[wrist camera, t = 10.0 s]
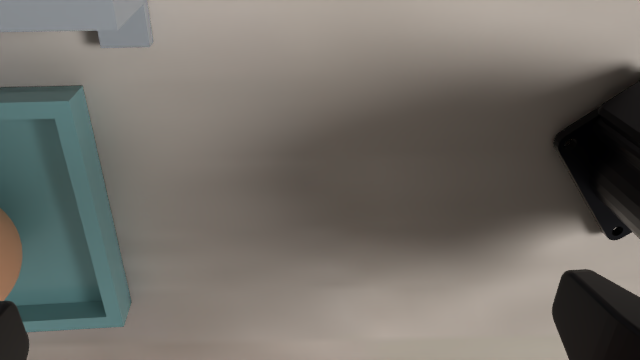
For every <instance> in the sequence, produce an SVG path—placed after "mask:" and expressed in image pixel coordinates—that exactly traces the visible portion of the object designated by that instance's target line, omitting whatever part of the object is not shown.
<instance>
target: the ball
mask: <svg viewBox="0 0 640 360" xmlns="http://www.w3.org/2000/svg"><path fill="white" fill-rule="evenodd" d="M21 265H22V244H21V240H20V236H19V233H18V231H17V228H16V227H15V225H14V223H13V222H12V220H11V219H10V218H9V216H8V215H7V214H6V213H5V212H4V211H3V210H2V209H1V208H0V301H4V300H5V299H6V297H7V296H8V295H9V293H10V292H11V290H12V289H13V287H14V285H15V283H16V281H17V279H18V277H19V273H20V270H21Z"/></svg>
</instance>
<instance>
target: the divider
mask: <svg viewBox="0 0 640 360" xmlns="http://www.w3.org/2000/svg"><path fill="white" fill-rule="evenodd" d="M35 31H98V36H99V41H100V46H101V48H124V47H150V46H151V45H152V44H153V36H152V30H151V23H150V16H149V10H148V3H147V0H0V32H35Z"/></svg>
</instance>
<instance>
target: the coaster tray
mask: <svg viewBox="0 0 640 360" xmlns="http://www.w3.org/2000/svg"><path fill="white" fill-rule="evenodd" d="M0 208H1V209H2V210H3V211H4V212H5V213H6V214H7V215H8V216H9V218H10V219H11V220H12V222H13V223H14V225H15V227H16V228H17V231H18V233H19V236H20V240H21V244H22V265H21V270H20V273H19V277H18V279H17V281H16V283H15V285H14V287H13V289H12V290H11V292H10V293H9V295H8V296H7V297H6V299H5V300H4V301H12V302H14V304H15V305H16V306H17V308H18V311H19V313H20V316H21V319H22V322H23V324H24V327H25V330H26V332H39V331H56V330H73V329H90V328H107V327H124V324H125V321H126V318H127V315H128V312H129V308H130V305H131V297H130V293H129V289H128V284H127V280H126V275H125V271H124V267H123V262H122V258H121V253H120V249H119V244H118V240H117V236H116V231H115V227H114V222H113V218H112V214H111V209H110V205H109V200H108V196H107V192H106V187H105V183H104V178H103V174H102V169H101V165H100V161H99V156H98V152H97V147H96V143H95V139H94V134H93V130H92V125H91V121H90V116H89V112H88V108H87V103H86V99H85V94H84V90H83V86H45V87H1V88H0Z"/></svg>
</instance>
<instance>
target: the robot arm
mask: <svg viewBox="0 0 640 360" xmlns="http://www.w3.org/2000/svg"><path fill="white" fill-rule="evenodd" d="M569 139H572V140H571V142H570V143H569V144H568V145H566V146H564V144H565V142H566V141H567V140H569ZM553 144H554V148H555V149H556V151H557V153H558V155H559V157H560V158H561V160H562V162H563V164H564V165H565V167H566V169H567V171H568V172H569V174H570V176H571V178H572V179H573V181H574V183H575V185H576V187H577V188H578V190H579V192H580V194H581V195H582V197H583V199H584V201H585V202H586V204H587V206H588V208H589V209H590V211H591V213H592V215H593V217H594V218H595V220H596V222H597V224H598V225H599V227H600V229H601V231H602V232H603V233H604V234H605V235H606V236H607V237H608V238H609V239H610V240H618V239H620V238H623V237H624V236H626V235H628V234H630V233H631V232H633V233H634V234H635V235H636V236H637V237H638V238H639V239H640V81H639V82H637V83H636V84H634V85H633V86H631V87H630V88H628V89H626V90H625V91H623V92H622V93H620V94H619V95H617V96H615V97H614V98H612V99H611V100H609V101H607V102H606V103H604V104H603V105H602V106H600V107H599V108H597V109H596V110H594V111H592V112H591V113H589V114H588V115H586V116H585V117H583V118H581V119H580V120H578V121H577V122H575V123H573V124H572V125H570V126H569V127H567V128H566V129H564V130H562V131H561V132H560V133H558V134H557V135H556V137H555V139H554V142H553ZM616 227H617V228H616ZM614 228H616V229H615V230H613V229H614ZM552 315H553V319H554V322H555V325H556V327H557V330H558V333H559V335H560V338H561V340H562V343H563V345H564V348H565V350H566V353H567V355H568V358H569V360H640V297H638V296H637V295H635V294H633V293H631V292H629V291H628V290H626V289H624V288H622V287H620V286H619V285H617V284H615V283H613V282H612V281H610V280H608V279H606V278H604V277H603V276H601V275H599V274H597V273H595V272H594V271H591V270H587V269H583V270H568V271H566V272H564V274H563V275H562V277H561V280H560V283H559V286H558V289H557V293H556V296H555V299H554V303H553V307H552ZM28 351H29V339H28V335H27V332H26V330H25V327H24V324H23V322H22V319H21V316H20V313H19V311H18V308H17V306H16V305H15V304H14V302H12V301H0V360H26V359H27V355H28Z"/></svg>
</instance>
